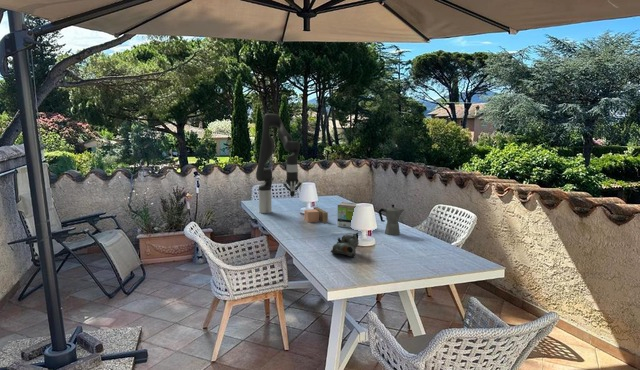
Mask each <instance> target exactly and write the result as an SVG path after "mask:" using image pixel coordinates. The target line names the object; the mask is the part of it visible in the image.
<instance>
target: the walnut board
mask: <svg viewBox="0 0 640 370" xmlns="http://www.w3.org/2000/svg"><path fill="white" fill-rule="evenodd" d="M313 209H316V210H317V211H319V221H318V222H321V223H322V224H326V223H328V222H329V221H328V219H329V218H328V217H329V216H328V215H329V213H328V212H327V211H326V210H324V209H323V208H320V207H318V206H314V207H313Z"/></svg>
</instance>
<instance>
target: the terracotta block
mask: <svg viewBox="0 0 640 370" xmlns="http://www.w3.org/2000/svg"><path fill="white" fill-rule="evenodd" d="M303 216H304V221H305V222H307V223H316V222H320V221H319V211H317V210H316V209H314V208H313V209H304V215H303Z"/></svg>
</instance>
